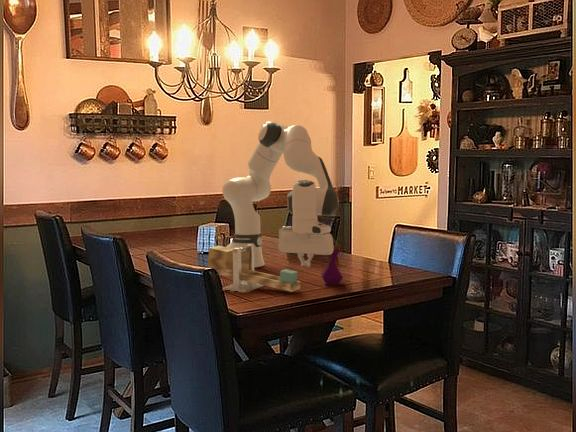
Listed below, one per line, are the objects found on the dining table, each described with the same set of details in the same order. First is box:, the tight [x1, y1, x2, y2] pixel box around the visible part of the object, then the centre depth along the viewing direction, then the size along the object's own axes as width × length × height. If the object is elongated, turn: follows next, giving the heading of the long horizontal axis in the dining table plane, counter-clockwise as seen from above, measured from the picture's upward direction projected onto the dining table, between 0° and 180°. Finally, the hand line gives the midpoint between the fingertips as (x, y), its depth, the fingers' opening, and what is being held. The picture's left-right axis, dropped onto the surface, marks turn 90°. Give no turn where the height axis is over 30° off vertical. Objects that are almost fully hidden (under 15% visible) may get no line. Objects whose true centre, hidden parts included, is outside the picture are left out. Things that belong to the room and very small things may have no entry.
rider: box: [279, 268, 299, 284], centre depth 235 cm, size 5×4×5 cm
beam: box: [207, 245, 301, 293], centre depth 242 cm, size 36×6×10 cm, turn 62°
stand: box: [222, 245, 266, 294], centre depth 244 cm, size 10×14×15 cm
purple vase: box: [320, 239, 343, 287], centre depth 248 cm, size 8×8×18 cm
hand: (305, 266), depth 232 cm, fingers closed
